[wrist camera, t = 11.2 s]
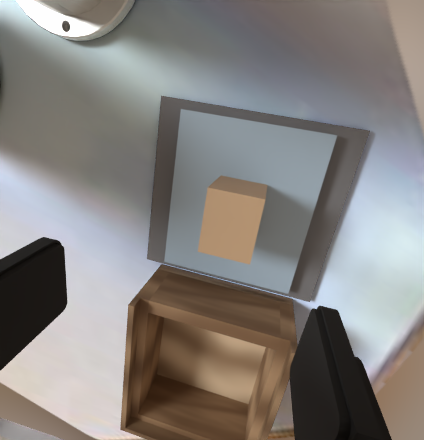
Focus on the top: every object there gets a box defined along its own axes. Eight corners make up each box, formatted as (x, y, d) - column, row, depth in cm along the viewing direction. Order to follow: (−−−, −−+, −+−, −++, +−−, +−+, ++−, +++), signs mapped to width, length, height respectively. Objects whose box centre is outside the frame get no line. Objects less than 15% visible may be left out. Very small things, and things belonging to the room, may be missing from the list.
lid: (184, 109, 23) (156, 104, 18) (334, 134, 21) (355, 138, 16) (167, 257, 28) (141, 289, 23) (287, 288, 26) (291, 330, 21)
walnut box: (161, 264, 29) (128, 304, 23) (292, 298, 27) (298, 354, 21) (149, 371, 35) (120, 429, 28) (257, 407, 33) (253, 478, 26)
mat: (163, 96, 24) (161, 95, 23) (368, 130, 21) (370, 130, 21) (149, 256, 29) (147, 259, 29) (309, 298, 27) (309, 301, 26)
